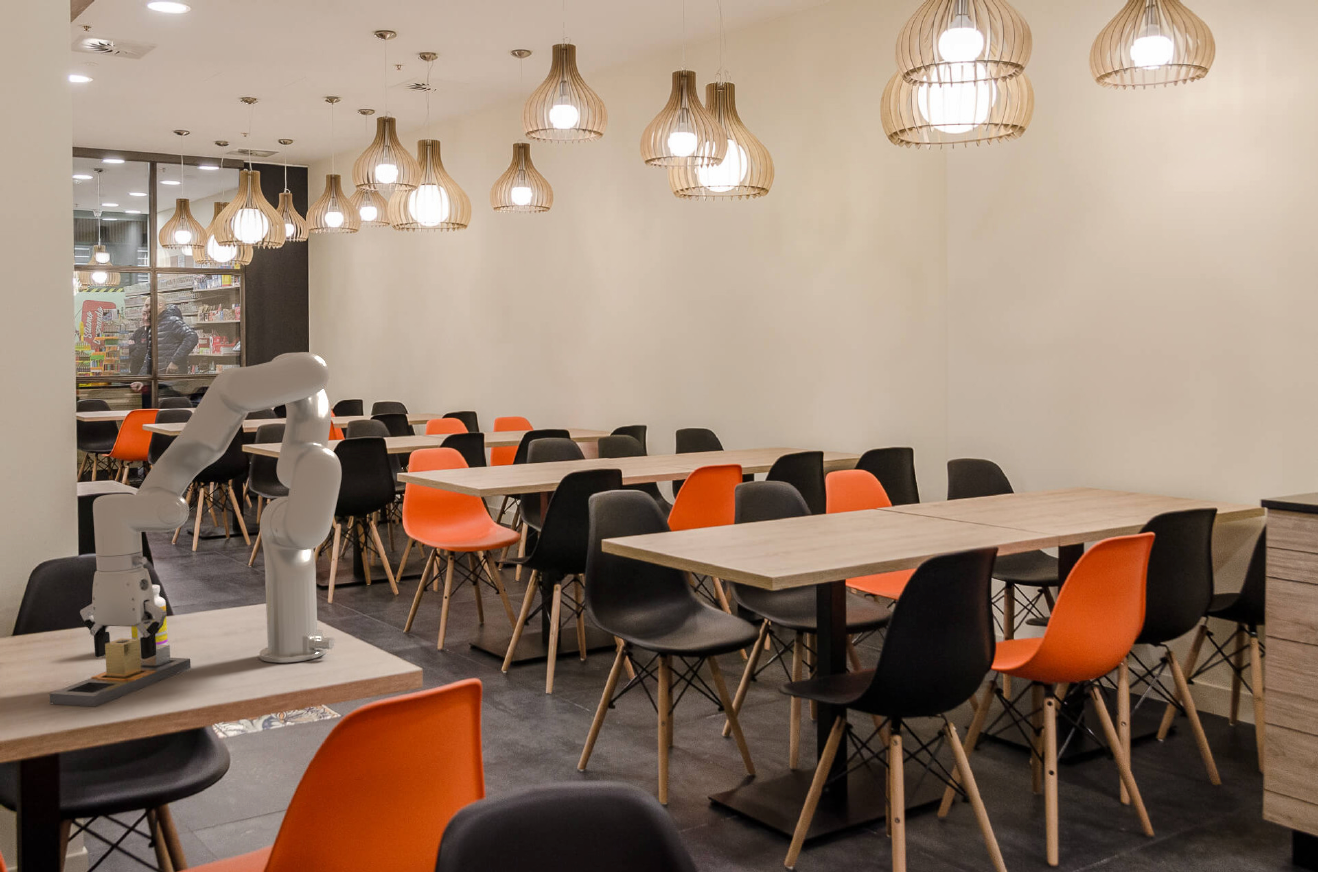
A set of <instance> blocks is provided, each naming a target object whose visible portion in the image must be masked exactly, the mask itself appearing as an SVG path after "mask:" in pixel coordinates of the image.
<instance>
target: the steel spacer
mask: <svg viewBox="0 0 1318 872" xmlns="http://www.w3.org/2000/svg"><path fill="white" fill-rule="evenodd" d="M140 655H141V648H140ZM170 658H171V647H170V645H169V644H167V645H157V644H156V655H155V656H153V657H150V658H147V659H142V658H141V667H144V668H159V667H161V666H164V665H166V664H169V663H170Z"/></svg>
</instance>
